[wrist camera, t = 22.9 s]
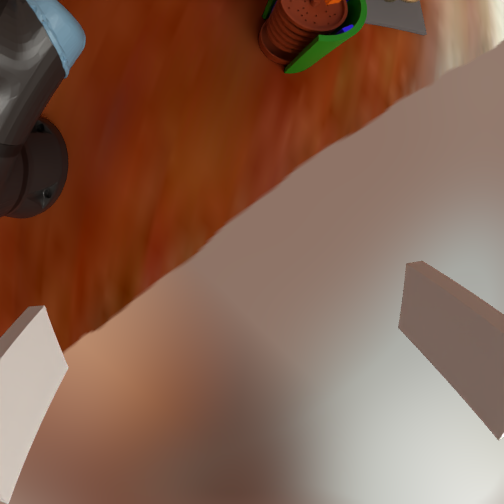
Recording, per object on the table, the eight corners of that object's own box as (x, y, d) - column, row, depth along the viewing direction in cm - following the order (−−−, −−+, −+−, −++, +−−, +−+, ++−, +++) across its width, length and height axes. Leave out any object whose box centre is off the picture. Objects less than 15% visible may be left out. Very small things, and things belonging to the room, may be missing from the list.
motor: (242, 25, 36) (266, -49, 17) (294, 2, 36) (344, -70, 17) (283, 81, 40) (336, 37, 21) (333, 55, 39) (408, 9, 20)
